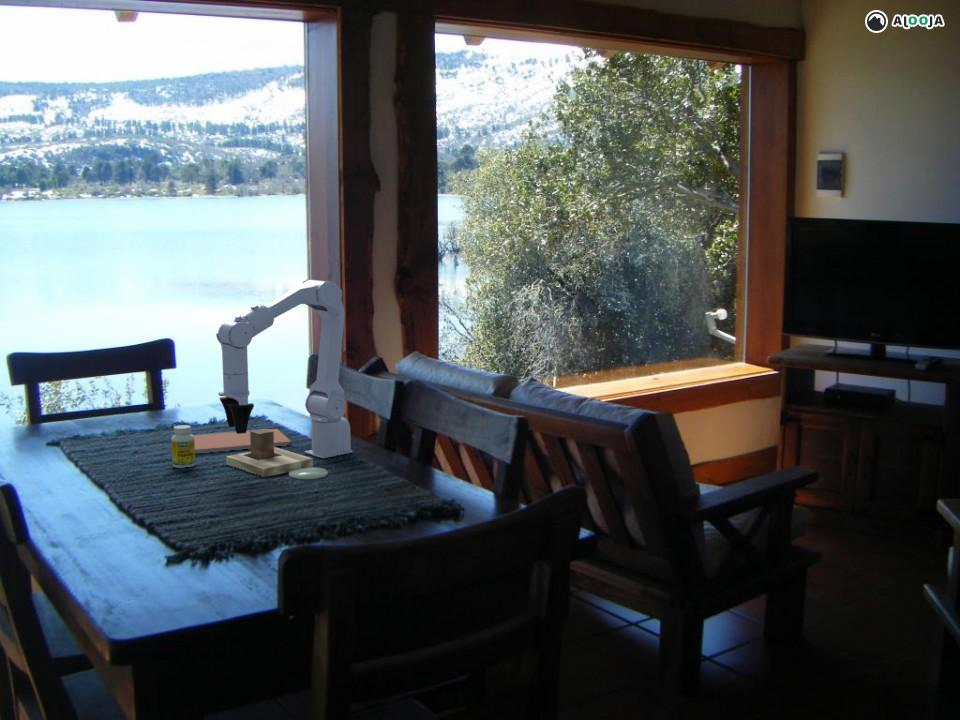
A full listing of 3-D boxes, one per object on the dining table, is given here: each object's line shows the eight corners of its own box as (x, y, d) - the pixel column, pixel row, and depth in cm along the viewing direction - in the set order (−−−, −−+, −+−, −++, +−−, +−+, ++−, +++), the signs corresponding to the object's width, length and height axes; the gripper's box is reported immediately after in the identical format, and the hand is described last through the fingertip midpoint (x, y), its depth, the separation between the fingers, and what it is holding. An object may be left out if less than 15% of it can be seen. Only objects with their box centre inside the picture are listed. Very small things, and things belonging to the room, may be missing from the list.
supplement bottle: (191, 461, 256) (190, 423, 255) (198, 466, 252) (197, 427, 250) (169, 464, 253) (167, 425, 252) (176, 469, 249) (174, 430, 247)
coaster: (312, 467, 252) (312, 465, 252) (335, 474, 246) (335, 472, 246) (281, 474, 246) (281, 472, 246) (304, 481, 239) (304, 479, 239)
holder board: (275, 454, 264) (274, 447, 263) (313, 466, 253) (312, 458, 252) (226, 464, 254) (226, 456, 254) (263, 477, 243) (263, 468, 242)
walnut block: (264, 460, 258) (264, 428, 257) (274, 463, 255) (273, 431, 254) (251, 463, 255) (250, 431, 254) (260, 466, 253) (259, 434, 251)
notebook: (276, 434, 289) (276, 427, 288) (291, 447, 273) (291, 440, 273) (174, 442, 278) (174, 435, 277) (184, 457, 263) (184, 449, 262)
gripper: (211, 369, 249) (213, 425, 251) (225, 379, 236) (227, 438, 238) (241, 367, 252) (242, 422, 254) (256, 376, 239) (258, 434, 241)
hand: (237, 429), depth 246 cm, fingers open, 7 cm apart
